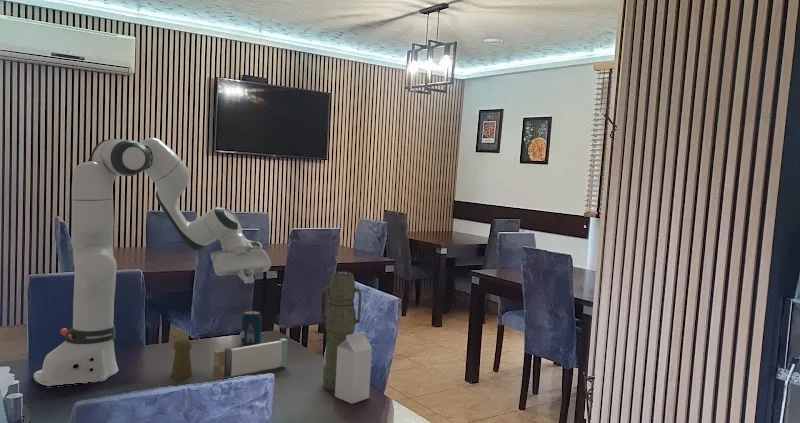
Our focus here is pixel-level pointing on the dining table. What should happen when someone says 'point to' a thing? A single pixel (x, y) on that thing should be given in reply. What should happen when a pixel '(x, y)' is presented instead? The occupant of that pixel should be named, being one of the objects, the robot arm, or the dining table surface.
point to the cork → (182, 359)
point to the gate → (255, 357)
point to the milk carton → (353, 369)
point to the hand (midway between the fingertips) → (249, 282)
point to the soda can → (251, 328)
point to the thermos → (338, 320)
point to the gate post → (218, 364)
